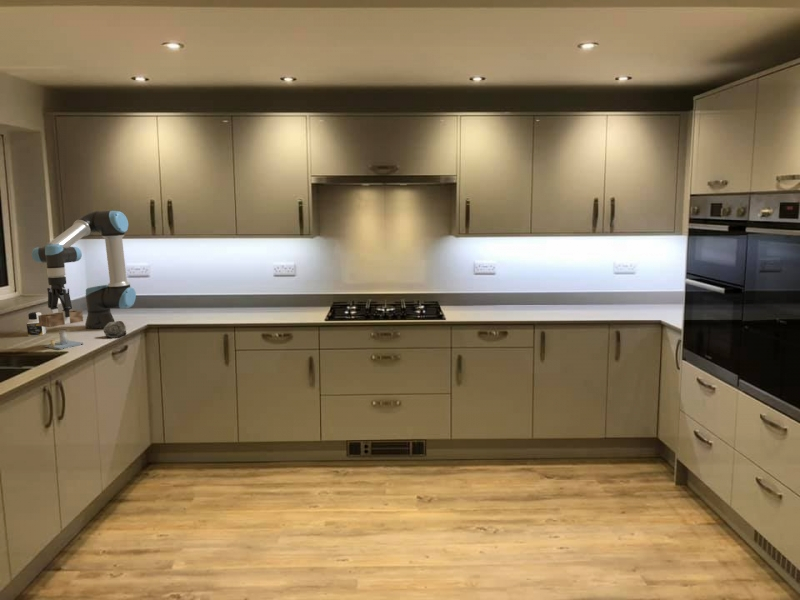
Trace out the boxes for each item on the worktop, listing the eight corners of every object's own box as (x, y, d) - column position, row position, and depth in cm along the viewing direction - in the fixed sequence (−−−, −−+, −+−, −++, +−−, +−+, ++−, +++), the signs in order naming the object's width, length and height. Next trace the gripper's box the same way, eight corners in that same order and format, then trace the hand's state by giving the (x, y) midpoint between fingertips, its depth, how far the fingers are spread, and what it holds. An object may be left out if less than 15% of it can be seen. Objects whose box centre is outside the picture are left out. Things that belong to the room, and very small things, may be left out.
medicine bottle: (27, 336, 322) (25, 314, 320) (31, 333, 329) (29, 311, 327) (42, 335, 324) (40, 313, 322) (46, 332, 331) (44, 311, 329)
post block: (68, 342, 306) (66, 326, 304) (83, 344, 300) (81, 328, 299) (44, 347, 295) (42, 331, 294) (59, 349, 289) (57, 333, 288)
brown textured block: (73, 320, 305) (72, 310, 304) (83, 321, 301) (82, 311, 300) (39, 325, 290) (38, 315, 289) (49, 327, 286) (48, 316, 286)
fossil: (106, 338, 310) (102, 320, 312) (104, 344, 317) (101, 326, 319) (129, 335, 316) (125, 317, 318) (127, 340, 323) (123, 323, 325)
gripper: (77, 276, 290) (82, 323, 294) (51, 274, 300) (56, 320, 304) (62, 278, 284) (67, 326, 287) (36, 276, 294) (41, 322, 297)
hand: (61, 323), depth 296 cm, fingers closed on brown textured block, 8 cm apart
